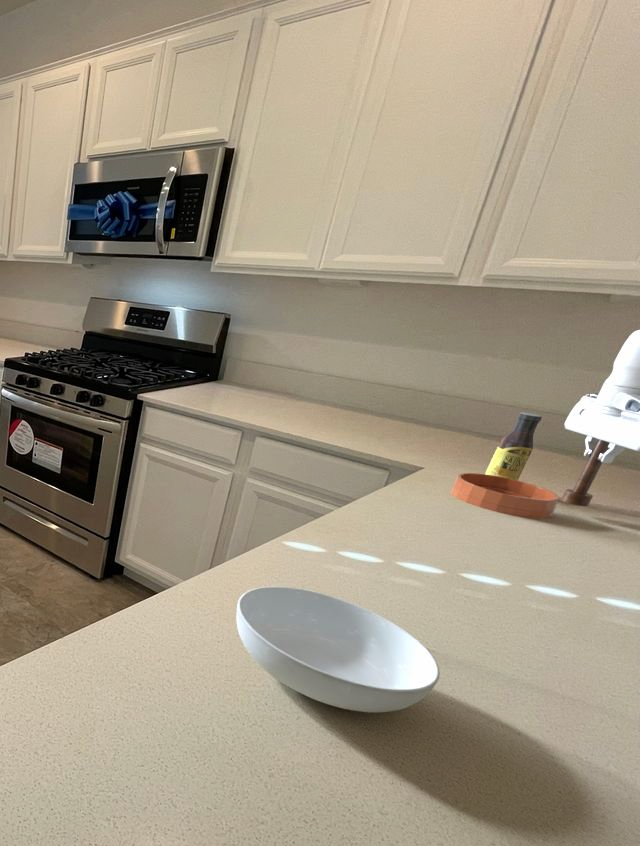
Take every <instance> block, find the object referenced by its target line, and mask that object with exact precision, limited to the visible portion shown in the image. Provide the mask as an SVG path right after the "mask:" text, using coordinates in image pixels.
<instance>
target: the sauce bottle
mask: <svg viewBox="0 0 640 846" xmlns="http://www.w3.org/2000/svg"><path fill="white" fill-rule="evenodd" d="M542 418H543V416H541V415H539V414H534V413H529V412H519V414H518V416H517V420H516V422H515V425H514V426H513V429H512V430H511V431H509V432H508V433H506V434H505V435H504V436H502V438H501V440H500V442H499V445H498V446H497V447H496V449H495V452H494V454H493V456H492V457H491V459H490V462H489V464H488V466H487V469H486V470H485V472H484V474H487V475H494V476H499V477H504V478H509V479H514V480H518V481H519V479H520V477H521V474H522V473H523V470H524V469H525V466H526V464H527V461H528V460H529V458H530V456H531V454H532V453H533V449H534V433H535V430H536V429H537V426H538V424H539V423H540V422H541V421H542Z"/></svg>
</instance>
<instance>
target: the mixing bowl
mask: <svg viewBox="0 0 640 846" xmlns="http://www.w3.org/2000/svg"><path fill="white" fill-rule="evenodd" d="M449 495H452V496H453V497H455V498H456V499H458V500H460V501H463V502H464V503H467V504H470V505H472V506H475V507H478V508H481V509H485V510H489V511H492V512H495V513H499V514H505V515H509V516H514V517H519V518H527V519H539V520H542V519H550V518H551V517H552V516H553V514H554V512H555V509H556V507H557V506H558V503H559V501H560V500H561V497H560V496H559V495H558V494H557V493H555V492H553V491H552V490H549V489H546V488H544V487H541V486H540V485H536V484H533V483H529V482H526V481H521V480H519V479H518V480H514V479H509V478H504V477H499V476H494V475H487V474H485V473H479V472H461V473H459V474H457V475H456V477H455V481H454V482H453V485H452V487H451V490H450V492H449Z"/></svg>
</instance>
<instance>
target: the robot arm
mask: <svg viewBox="0 0 640 846" xmlns="http://www.w3.org/2000/svg"><path fill="white" fill-rule="evenodd" d="M563 423H564V424H563V425H564V429H565V430H568V431H571V432H574V433H578V434H581V435H584V436H586V438H585V439H584V443H585V451H584V453H583V456H584V457H586V458H588V459H589V458H590V456H591V454H592V452H593V450H594V448H595V446H596V444H597V442H598V440H599V439H600V440H603V441H606V442H610V444H609V446H608V448H610V449H609V450H607V451H606V452H605V453H604V454H602V453H600V455H599V457H598V459H597V460H598V461H600V462H603V463H602V464H612V463H613V462H614V459H615V457H617V456H618V455H620V454H621V453H623V452H624V451H626V449H629V450H632V451H636V452H640V328H638V329H637V330H635V331H633V332H632V333H631V334H630V335H629V336H628V338H627V339H626V340H625V342H624V343H623V345H622V346H621V348H620V350H619V351H618V354H617V356H616V358H615V359H614V361H613V366H612V371H611V373H610V375H609V376H608V377H607V378H606V379H605V381H604V382H603V384H602V386H601V388H600V390H599V391H598V393H597V392H589V393H587V394H585V395H583V396H582V397H581V398H580V399H579V401H578V402H577V403H576V404H575V405H574V406H573V408H572V409H571V410H570V413H569V414H568V415H567V417H566V420H565V421H564V422H563Z"/></svg>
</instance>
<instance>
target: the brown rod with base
mask: <svg viewBox="0 0 640 846" xmlns="http://www.w3.org/2000/svg"><path fill="white" fill-rule="evenodd" d="M609 444H610V442H606V441H603V440H600V439H599V440H598V442H597V444H596V446H595V448H594V450H593V452H592V454H591V456H590V458H589V457H588V459H587V462H586V464H585V466H584V467H583V470H582V472H581V474H580V476H579V478H578V479H577V482H576V484H575V485H574V488H573V489H569V488H567V489H565V490H564V493H563V495H562V497H561V498H560V500H561V501H562V502H564V503H566V504H570V505H573V506H577V507H578V506H579V507H589V505H590V503H591V501H592V499H593V497H594V495H592V494H591V493H588V492H589V490H590V488H591V486H592V484H593V483H594V480H595V478H596V476H597V474H598V472H599V471H600V469H601V467H602V464H604V463H603V462H600V461H598V460H597V459H598V457H599V455H600V453H602V454H604V453H605V452H606V451H607V450H609V449H610V448H608V446H609Z"/></svg>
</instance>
